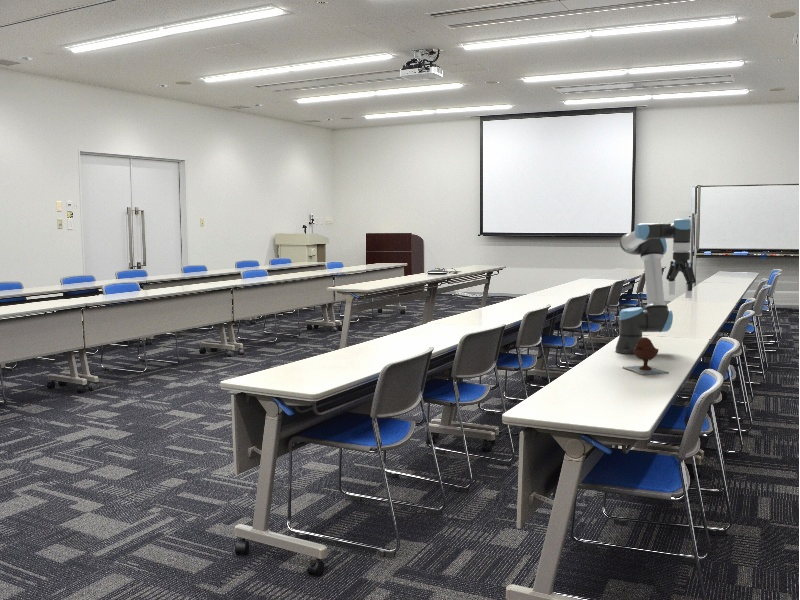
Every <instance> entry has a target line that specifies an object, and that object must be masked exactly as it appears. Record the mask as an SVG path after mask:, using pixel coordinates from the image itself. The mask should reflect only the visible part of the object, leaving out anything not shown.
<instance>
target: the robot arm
mask: <svg viewBox="0 0 800 600" xmlns="http://www.w3.org/2000/svg"><path fill="white" fill-rule="evenodd" d="M691 221H692V220H691V219H689V218H675V219H674V220H673V222H660V223H656V222H655V223H652V222H651V223H648V222H642V223H638V224H636V225H635V228H634V230H633V231H631V232H627V233H625V234H623V235H622V236H621V238H620V240H619V246H620V248H621V250H622V251H623V252H624V253H627V254H628V255H634V256H635V255H636V256H637V255H638V256H640V260H642V261H643V265H644V266H643V267H644V277H645V289H646V302H647V304H646V305H645V306H644V309H643V307H640V306H639V307H637V306H636V307H628V308H623V309H621V310H620V311H619V317H618V320H619V323H618V325H619V327H618V328H619V329H618V330H619V332H618V334H619V335H618V336H619V337H618V340H617V343H616V346H615V353H617V354H618V353H620V354H626V355H635V354H634V351H633V349H634V348H636V344H637V342H638V340H639V339H640V338H642V337H643V333H663V332H665V333H666V332H667V333H668V332H669V331H670V330H671V328H672V325H673V319H674V315H673V311H672V310H671V309H669V306H668V305H667V304H666V302H665V294H664V293H665V292H664V282H663V272H662V271H663V270H662V261H661V260H662V259H663V258H664V255H665V254H666V253H667V249H668V248H667V247H668V246H667V244H668V243H667V240H666V239H673V240H672V242H673V244H672V251H673V252H672V260H671V261H670V263H669V268H668V272H667V273H666V280H667V281H668V295H669V296H671V295H673V296H674V295H675V294H676V278H677V276H678V275H679V272H681V273H682V274H683V276H684V277H683V278H684V280H685V282H686V283H685V299H692V298H693V297H692V295H693V285H694V284H695V283H696V281H697V280H696V277H695V272H694V269H693V263H692V262H688V261H689V260H690V259H691V253H690V252H691V235H692V233H691V229H692V222H691Z"/></svg>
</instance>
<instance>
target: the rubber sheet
mask: <svg viewBox="0 0 800 600" xmlns="http://www.w3.org/2000/svg"><path fill="white" fill-rule="evenodd" d="M642 366H643V365H633V366H632V365H630V366H622V369H624V370H627V371H629V372H632V371H633V372H632V373H635V372H636V374H638V373H639V375H641V374H642V376H647V375H646V374H652V375H661V374H660V373H666V374H669V373H670V372H669V371H668V370H665V369H661V368H658V367H654V366H651V365H649V364H648V366H649V367H650V368H652V370H640V369H639V368H640V367H642Z"/></svg>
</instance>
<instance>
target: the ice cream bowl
mask: <svg viewBox="0 0 800 600" xmlns="http://www.w3.org/2000/svg"><path fill="white" fill-rule="evenodd" d="M633 351H634V354H633V355H635V356H636V357H637V358H638V359H639V360H641V361H642V362H643V365H641V366H642V367H640V368H639V369H640V370H652V368H650V367H649V366H650V365H649V364H648V363H649V361H652V360H653V359H654V358H655V357H656V356H657V355H658V353H659V349H658V348H656V347H655V345H654V343H653V342H652V340H651V339H649V338H648V337H643V336H642V338H640V339H639V340H638V342H637V344H636V348H634V349H633ZM648 365H649V366H648Z"/></svg>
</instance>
